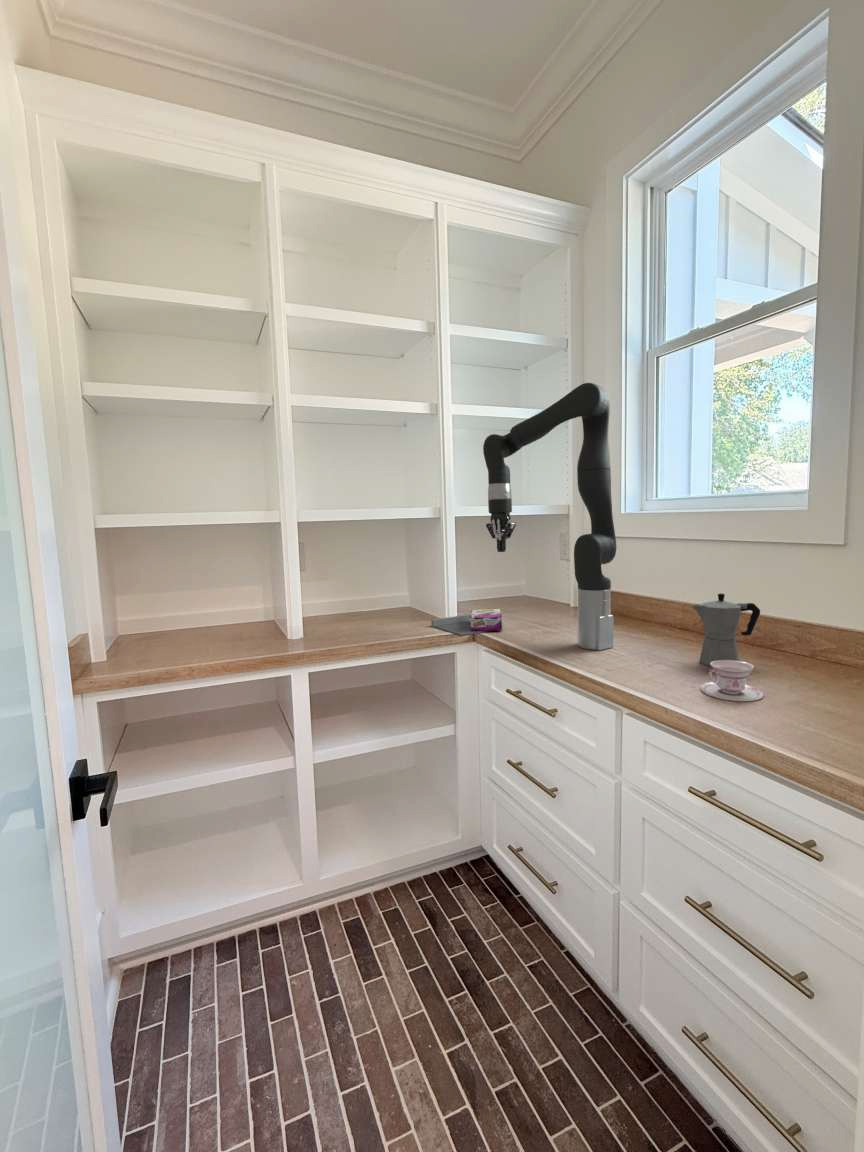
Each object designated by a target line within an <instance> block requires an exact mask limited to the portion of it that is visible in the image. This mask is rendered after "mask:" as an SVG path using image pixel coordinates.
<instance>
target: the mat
mask: <svg viewBox="0 0 864 1152" xmlns="http://www.w3.org/2000/svg"><path fill="white" fill-rule="evenodd" d="M470 615H471V614H462V615H455V616H449V617H441V618H436V619H431V621H430V622H431V628H434V629H438V630H441V631H445V632H448V633H450V634H454V635H457V636H459V637H464V636H470V635H475V634H482V633H487V631H470Z"/></svg>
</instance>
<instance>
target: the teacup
mask: <svg viewBox="0 0 864 1152" xmlns="http://www.w3.org/2000/svg"><path fill="white" fill-rule="evenodd" d="M710 665H711V666H710V667H711V668H709V669H708V670H707V671H708V676H709V679H710V680H711V682H705V683H702V684H701V685H699V689H700V692H702V693H703V694H705V695H707V696H709V697H713V698H716V699H720V700H726V701H733V702H755V701H759V700H762V699H763V698H764V696H765V695H764V693H763V691H761V689H759V688H757V687H754V686H751V685H749V684H746V679H747V678H748V677H749V674H750V673H751V672H752V671H753V669H755V668H754V667H755V665H753V664H752V663H749V662H746V661H742V660H741V661H740V660H739V661H734V660H717V661H712V662H710ZM713 672H714V673H715V675H716V677H717V678H716V680H715V678H714V677H713V674H712V673H713ZM719 690H720V691H722V692H720V691H719ZM740 693H743V694H741V695H739V694H740Z"/></svg>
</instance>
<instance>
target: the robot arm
mask: <svg viewBox="0 0 864 1152" xmlns="http://www.w3.org/2000/svg"><path fill="white" fill-rule="evenodd" d="M610 412H611V398H610V395H609V393H608V391H607V390H606V389H605V388H604V387H602V386H599V385H598V384H596V383H592V382H584V383H582V384H580V385H578V386H577V387H575V388H574V389H573V390H571V391H570V392H569V393H567V394H566V395H564V396H563V397H562V398H559V400H557V401H556V402H554V403H553V404H552V405H550V406H549V407H547V408H545V409H544V410H542V411H540V412H538V413H537V414H536V413H535V414H534V415H533V416H531V417H529V418H526V419H525V420H523V421H521V422H519V423H517V424H516V425H513V426H512V427H511V429H510V431H509V432H508V433H506V434H504V435H500V434H495V433H494V434H489V435H488V436H487V437H485V440H484V442H483V445H482V450H483V451H482V453H483V457H484V462H485V465H486V469H487V471H488V472H487V475H488V479H487V481H488V488H487V500H488V502H487V503H488V513H489V514H490V519H489V520H490V521H489V522H488V523H486V524H485V526H486V528H487V530H488V532H489V535H490V537H491V538H492V539H495V541H496V550H497V552H498V553H505V552H506V549H507V542H506V540H507V539H511V537H512V534H513V532H514V530H515V528H516V526H517V523H516V522H513V521H512V519H511V514H510V513H512V512H513V507H512V506H513V500H512V499H513V498H512V497H513V496H512V486H511V470H510V467H509V466H508V465H507V464H506V463H505V459H506V458H508V457H511V456H512V455H514V454H515V453H517V452H518V451H520V450H521V449H522V448H523V447H526V446H528V445H530V444H532V443H534V442H536V441H537V440H540V439H542V438H543V437H545V436H546V435H548V434H549V433H550V432H551V431H552V430H554V429H555V428H556V427H557V426H559V425H561V424H564V423H565V422H567V421H570V420H572V419H576V418H581V421H582V431H583V432H582V433H583V439H582V445H581V449H580V451H579V456H578V460H577V466H576V467H577V468H576V469H577V473H576V474H577V488H578V492H579V495H580V498H581V500H582V502H583V503H584V506H585V507H586V509H587V512H588V515H589V517H590V524H591V525H590V529H591V532H590V533H586V534H582V535H580V536H578V538H577V539H576V541H575V543H574V548H573V559H574V560H573V563H574V566H573V567H574V576H575V581H576V582H577V646H578V647H579V648H582V649H586V650H596V651H601V650H608V649H610V648H614V621H615V620H614V615H613V614H611V613H612V612H611V609H612V608H611V607H612V605H611V603H612V602H611V601H612V600H611V599H612V595H611V594H612V592H611V591H612V589H611V588H612V583H611V582H612V581H611V579H610V578H609V577H607V576H605V575H604V574H603V570H602V565H607V564H610V563H611V562H612V561H613V560H614V559H615V558H616V553H617V538H616V531H615V525H614V524H615V523H614V517H613V503H612V474H611V473H612V472H611V468H612V467H611V457H610V455H611V454H610V452H611V451H610V441H609V431H610V429H609V427H610V426H609V425H610Z"/></svg>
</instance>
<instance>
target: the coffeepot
mask: <svg viewBox="0 0 864 1152" xmlns="http://www.w3.org/2000/svg"><path fill="white" fill-rule="evenodd" d="M725 597H726V594H724V593H717V599H718V600H713V601H707V602H702V603H698V604H694V605H692V607H691V608H692V609H694V610H695V611H696V613H697V615H698V616H699V617H700V619H701V620H702V626H703V630H704V631H705V636H704V638H703V643H702V648H701V652H700V655H699V661H698V662H700V663H701V664H702V665H705V666H709V667H712V666H711V665H710V662H712V661H717V660H734V661H740V657H739V651H738V644H737V639H736V633H737V631H738V625H739V620H740V616H741V613H742V612H747V611H751V615H750V618H749V622H748V623H747V626H746V627H747V628H746V630H745V631H740V634H741V635H742V636H751V635H752V633H753V630H754V628H755V626H756V624H757V621H758V619H759V617H760V615H761V609H760V608H759V607H758V606H757V605H756V604H755V603H752V602H742V603H741V602H739V603H733V602H730V601H726V600H725Z"/></svg>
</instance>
